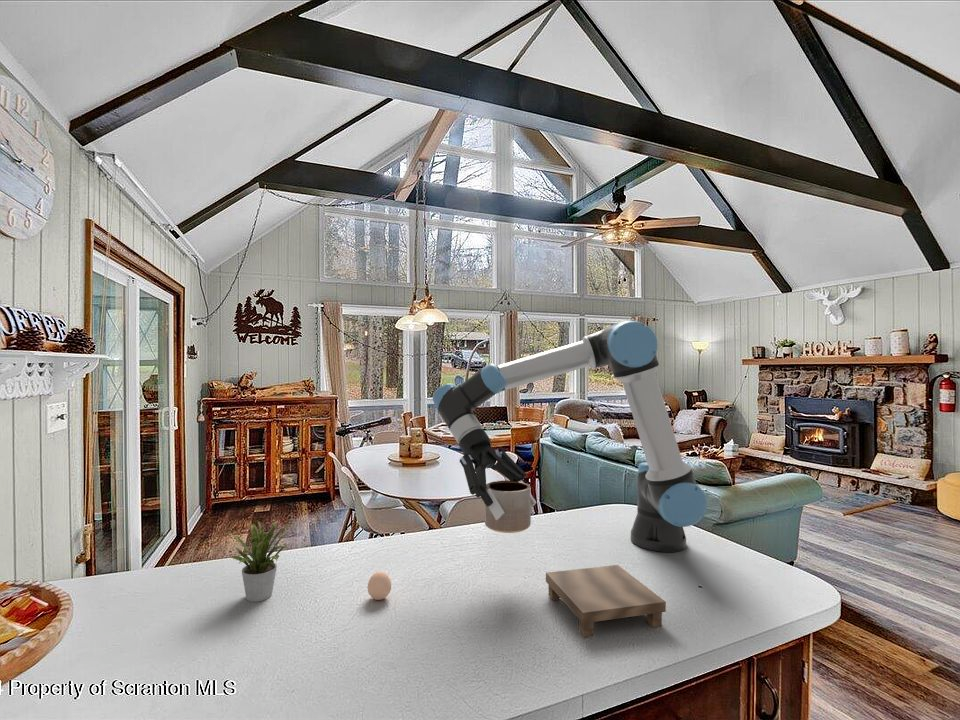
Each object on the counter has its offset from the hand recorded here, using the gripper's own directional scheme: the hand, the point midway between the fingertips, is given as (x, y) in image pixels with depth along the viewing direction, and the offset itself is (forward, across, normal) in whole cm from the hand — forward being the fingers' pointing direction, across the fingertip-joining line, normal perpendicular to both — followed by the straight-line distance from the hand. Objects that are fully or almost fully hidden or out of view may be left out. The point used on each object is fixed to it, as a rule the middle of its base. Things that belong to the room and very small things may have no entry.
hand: (517, 511), depth 117 cm
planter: (+1, 0, -5) cm, 5 cm away
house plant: (-12, +44, -36) cm, 58 cm away
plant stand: (+27, -4, +2) cm, 27 cm away
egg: (+1, +27, -24) cm, 36 cm away
